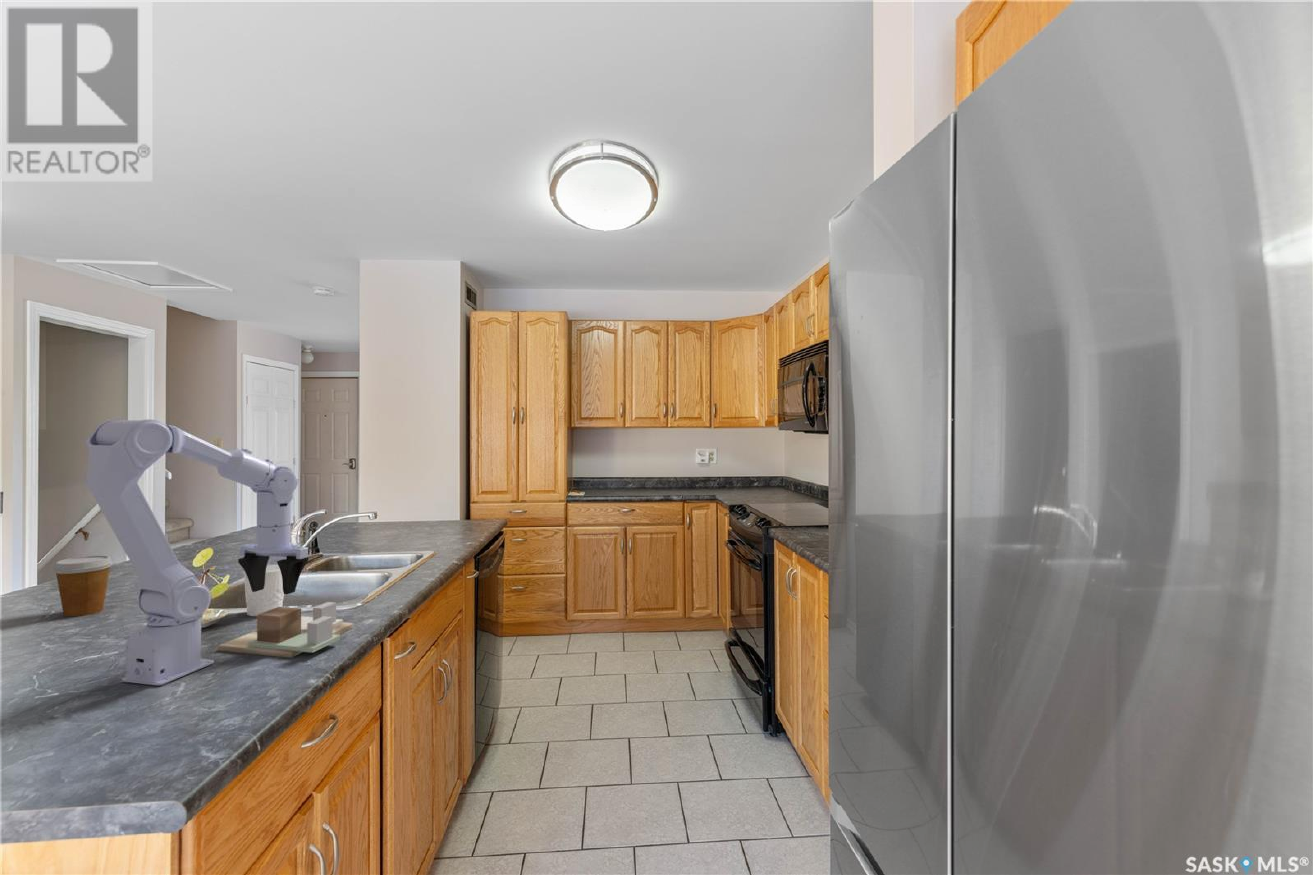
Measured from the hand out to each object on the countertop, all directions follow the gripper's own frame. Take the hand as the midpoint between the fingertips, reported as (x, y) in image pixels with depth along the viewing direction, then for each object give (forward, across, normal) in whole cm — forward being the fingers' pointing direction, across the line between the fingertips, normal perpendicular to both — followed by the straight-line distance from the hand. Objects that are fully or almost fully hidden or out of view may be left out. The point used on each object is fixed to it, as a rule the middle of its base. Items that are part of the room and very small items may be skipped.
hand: (273, 591), depth 114 cm
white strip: (+8, -3, -4) cm, 9 cm away
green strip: (+8, -9, +4) cm, 13 cm away
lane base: (+9, -4, 0) cm, 10 cm away
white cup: (+9, +15, -12) cm, 21 cm away
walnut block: (+7, -6, +4) cm, 10 cm away
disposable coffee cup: (+9, +54, -2) cm, 55 cm away
